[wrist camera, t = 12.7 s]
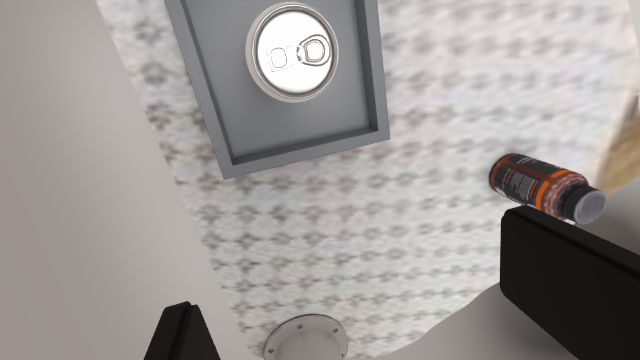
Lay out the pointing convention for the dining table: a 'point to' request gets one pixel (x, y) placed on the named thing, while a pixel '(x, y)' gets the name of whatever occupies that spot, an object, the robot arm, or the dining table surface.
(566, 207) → the supplement bottle
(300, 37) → the can
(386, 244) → the dining table surface
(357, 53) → the tray
